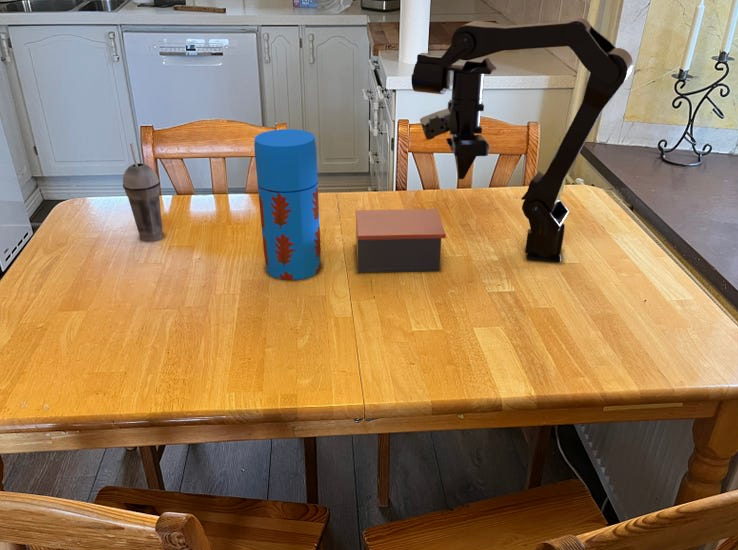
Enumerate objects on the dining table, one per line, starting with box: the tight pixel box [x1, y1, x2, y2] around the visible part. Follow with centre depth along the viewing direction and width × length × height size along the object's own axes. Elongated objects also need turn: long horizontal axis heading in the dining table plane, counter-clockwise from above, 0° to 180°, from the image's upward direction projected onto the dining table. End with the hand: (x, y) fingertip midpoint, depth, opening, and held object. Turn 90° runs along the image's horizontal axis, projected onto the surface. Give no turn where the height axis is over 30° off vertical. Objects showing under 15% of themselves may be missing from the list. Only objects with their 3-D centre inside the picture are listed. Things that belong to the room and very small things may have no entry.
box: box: [355, 221, 442, 274], centre depth 135 cm, size 16×13×7 cm
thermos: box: [253, 128, 322, 281], centre depth 126 cm, size 11×11×25 cm
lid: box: [355, 208, 447, 240], centre depth 133 cm, size 16×13×1 cm
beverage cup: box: [122, 142, 163, 242], centre depth 140 cm, size 7×7×20 cm
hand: (460, 178), depth 137 cm, fingers closed
